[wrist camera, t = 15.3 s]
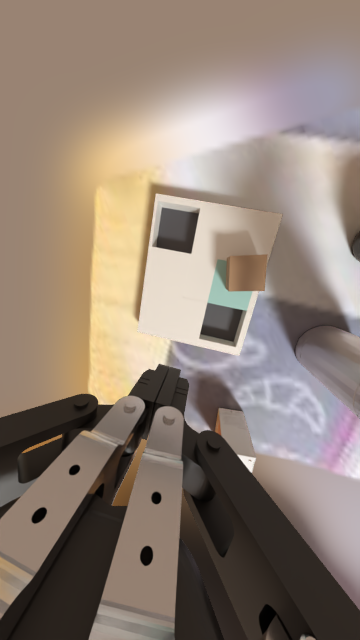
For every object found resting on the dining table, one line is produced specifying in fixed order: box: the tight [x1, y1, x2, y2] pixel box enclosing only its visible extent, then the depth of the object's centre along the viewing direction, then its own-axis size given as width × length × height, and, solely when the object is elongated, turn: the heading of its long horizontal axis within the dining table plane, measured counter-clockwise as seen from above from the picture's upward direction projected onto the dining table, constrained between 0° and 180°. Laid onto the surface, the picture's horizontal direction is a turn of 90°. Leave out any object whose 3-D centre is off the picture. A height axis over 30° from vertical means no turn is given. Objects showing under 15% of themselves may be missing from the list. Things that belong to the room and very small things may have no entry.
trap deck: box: [137, 194, 283, 356], centre depth 32 cm, size 20×24×3 cm
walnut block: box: [226, 254, 268, 292], centre depth 28 cm, size 5×5×4 cm
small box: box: [215, 408, 256, 473], centre depth 36 cm, size 8×6×10 cm
